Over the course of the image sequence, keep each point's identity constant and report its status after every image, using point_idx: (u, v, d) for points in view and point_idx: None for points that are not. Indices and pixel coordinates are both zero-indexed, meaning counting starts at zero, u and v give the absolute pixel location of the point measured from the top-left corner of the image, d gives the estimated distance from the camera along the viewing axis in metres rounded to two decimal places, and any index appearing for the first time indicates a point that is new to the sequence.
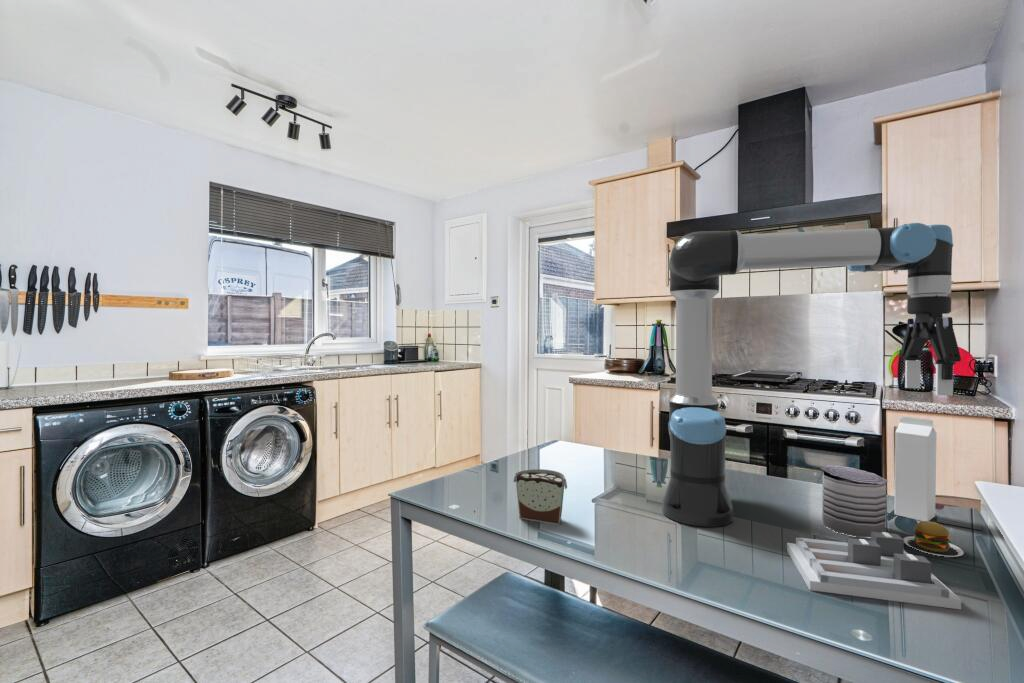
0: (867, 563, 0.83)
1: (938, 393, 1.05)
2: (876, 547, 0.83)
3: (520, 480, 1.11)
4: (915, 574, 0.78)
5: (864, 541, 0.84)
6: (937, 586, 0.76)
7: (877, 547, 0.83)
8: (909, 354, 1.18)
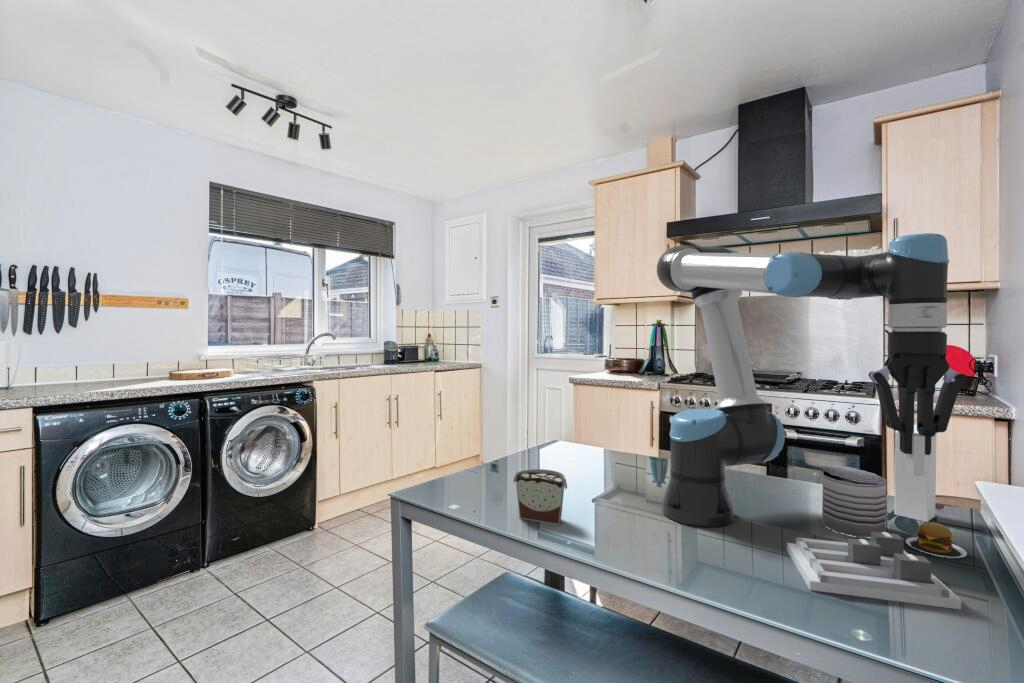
0: (867, 563, 0.83)
1: (906, 469, 0.83)
2: (876, 547, 0.83)
3: (520, 480, 1.11)
4: (915, 574, 0.78)
5: (864, 541, 0.84)
6: (937, 586, 0.76)
7: (877, 547, 0.83)
8: (917, 420, 0.83)
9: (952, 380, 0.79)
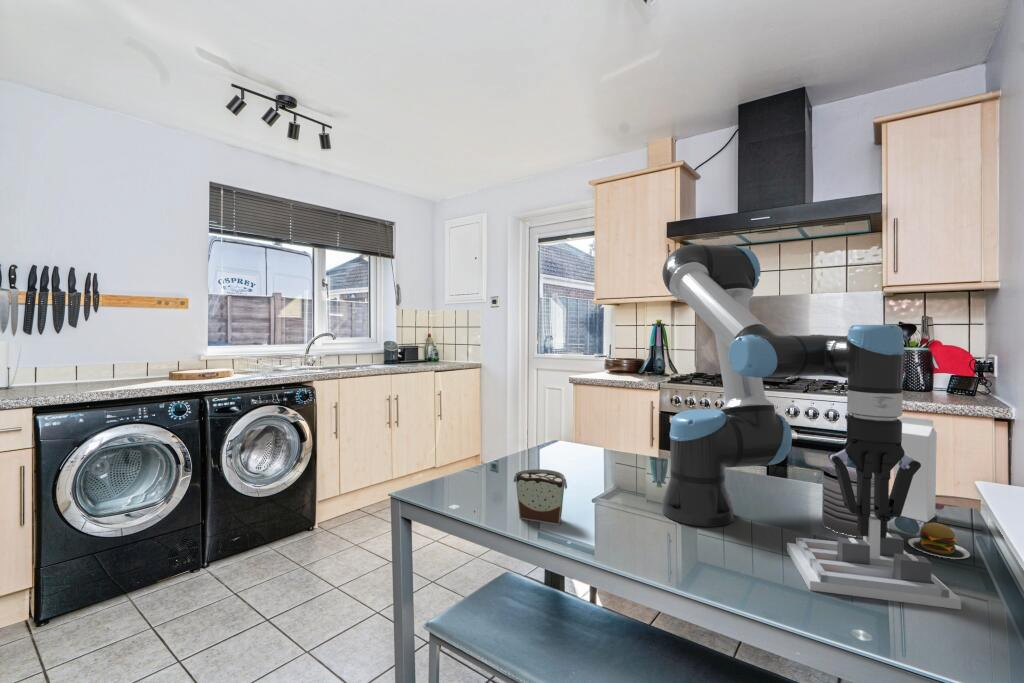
0: (856, 562, 0.84)
1: None
2: (865, 546, 0.83)
3: (520, 480, 1.11)
4: (915, 574, 0.78)
5: (853, 540, 0.85)
6: (937, 586, 0.76)
7: (866, 546, 0.83)
8: (874, 502, 0.85)
9: (907, 467, 0.82)
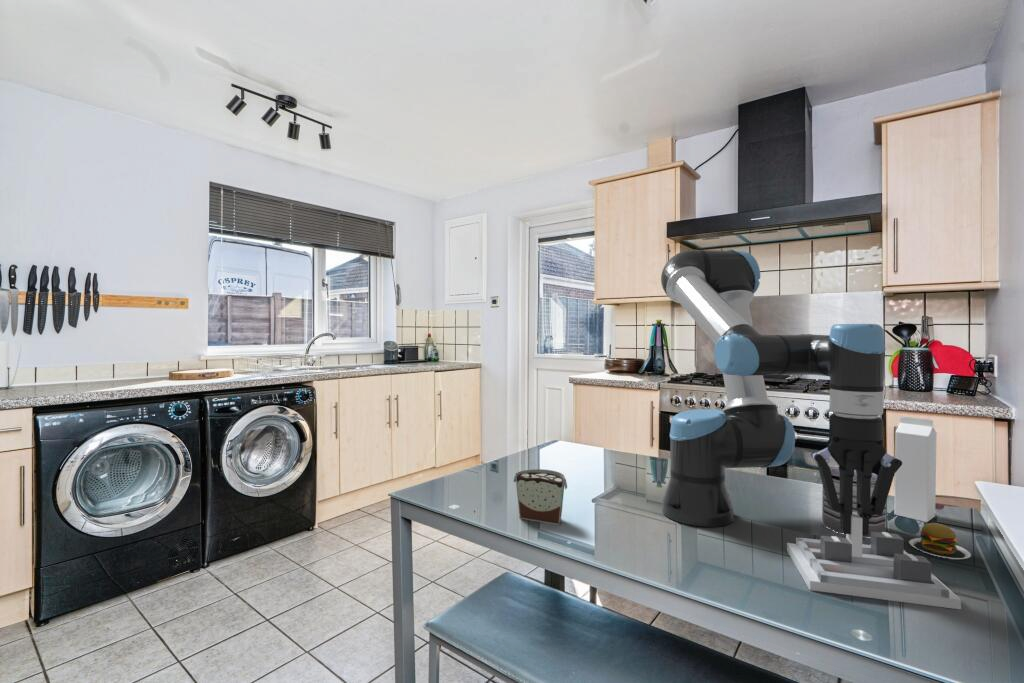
0: (838, 560, 0.84)
1: None
2: (847, 544, 0.84)
3: (520, 480, 1.11)
4: (915, 574, 0.78)
5: (836, 538, 0.86)
6: (937, 586, 0.76)
7: (848, 544, 0.84)
8: (857, 500, 0.85)
9: (888, 465, 0.82)
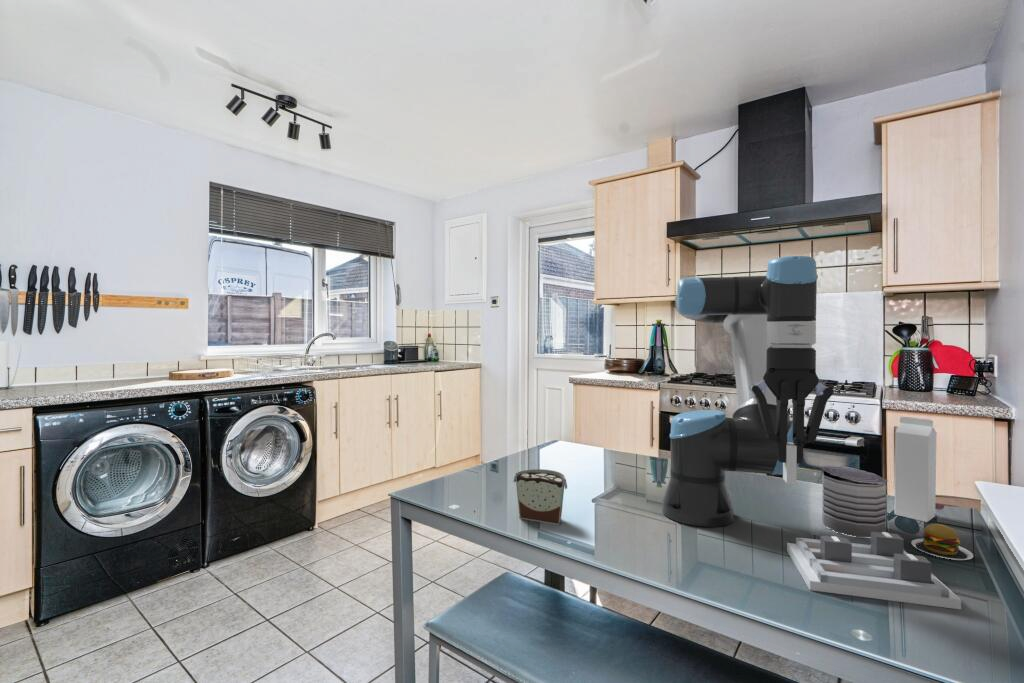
0: (838, 560, 0.84)
1: (783, 476, 0.89)
2: (847, 544, 0.84)
3: (520, 480, 1.11)
4: (915, 574, 0.78)
5: (836, 538, 0.86)
6: (937, 586, 0.76)
7: (848, 544, 0.84)
8: (793, 430, 0.88)
9: (821, 393, 0.85)
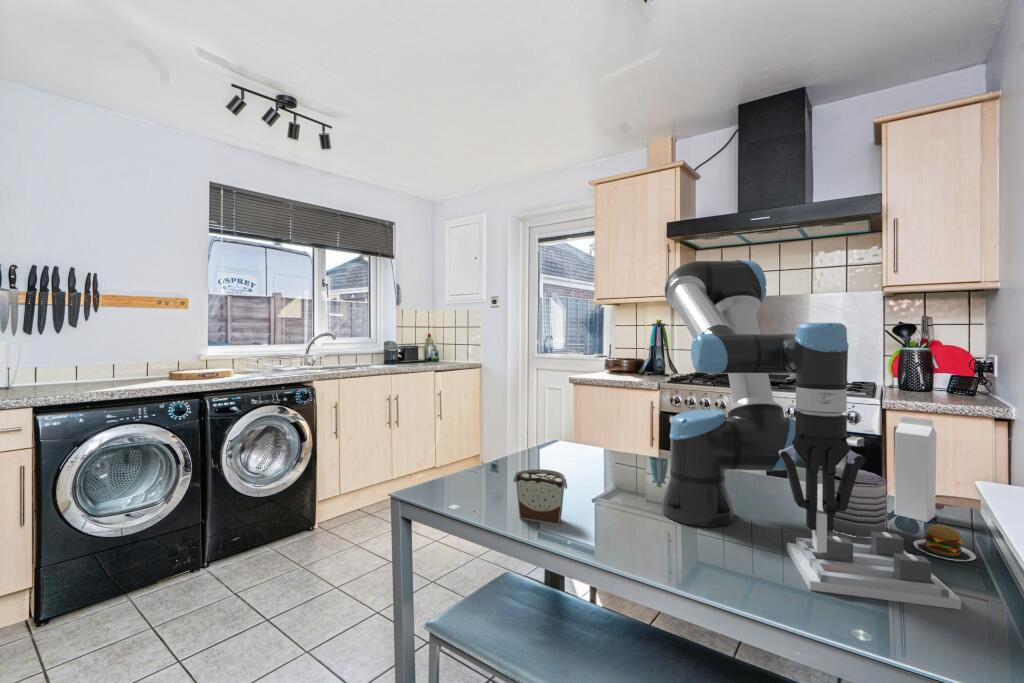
0: (840, 560, 0.84)
1: (812, 543, 0.87)
2: (848, 544, 0.84)
3: (520, 480, 1.11)
4: (915, 574, 0.78)
5: (837, 538, 0.86)
6: (937, 586, 0.76)
7: (849, 544, 0.84)
8: (822, 497, 0.87)
9: (852, 462, 0.83)
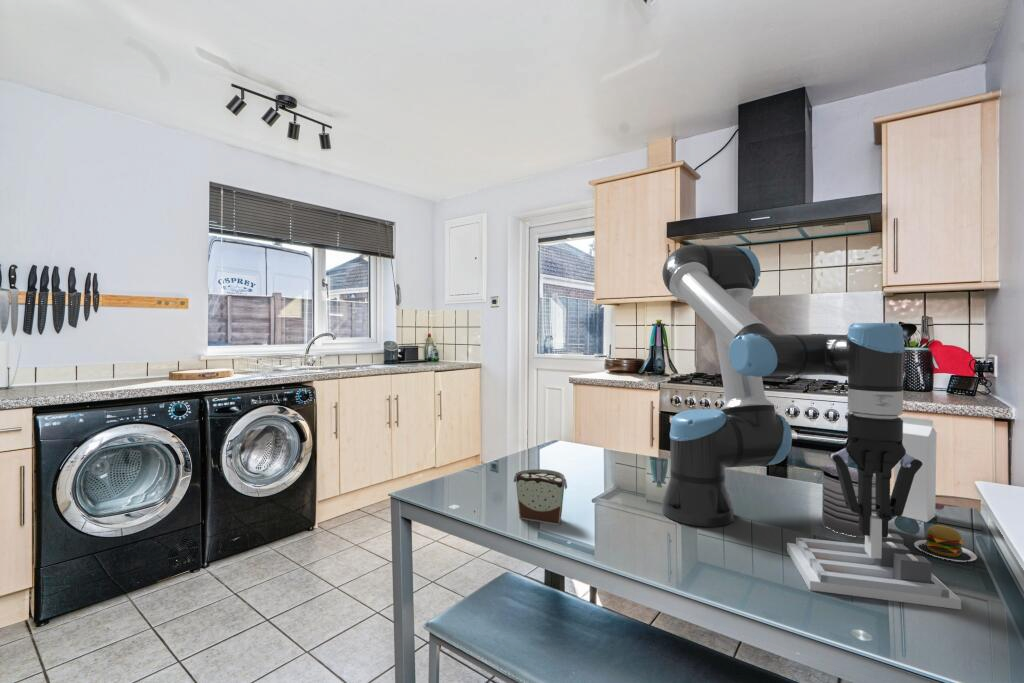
0: None
1: (865, 549, 0.85)
2: (904, 550, 0.82)
3: (520, 480, 1.11)
4: (915, 574, 0.78)
5: (892, 544, 0.83)
6: (937, 586, 0.76)
7: (905, 550, 0.82)
8: (876, 501, 0.84)
9: (908, 466, 0.81)
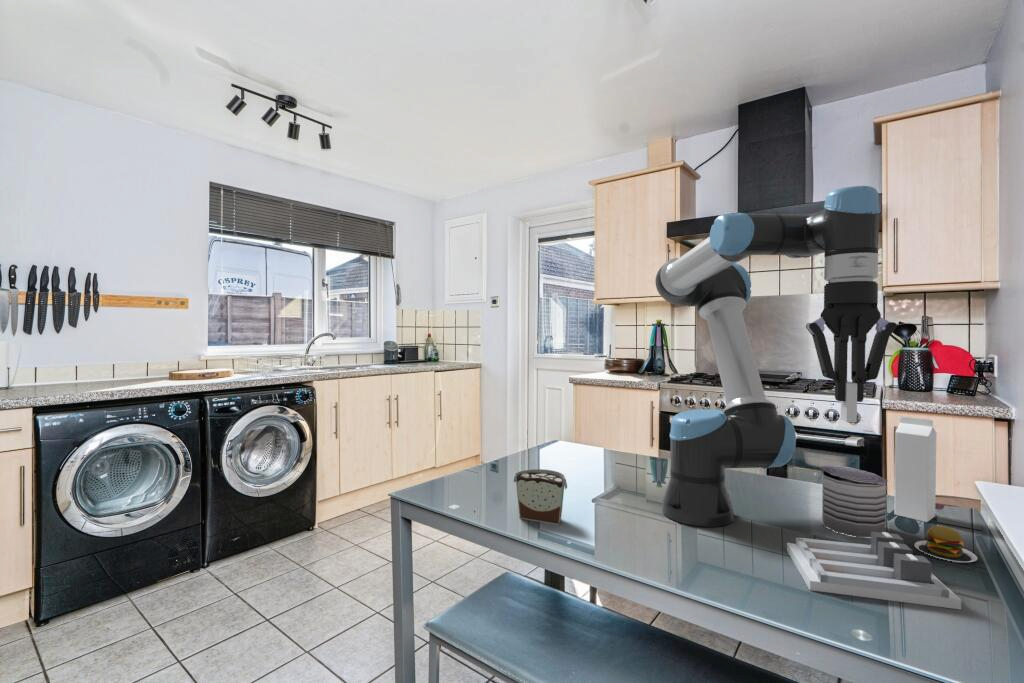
0: None
1: (841, 417, 0.86)
2: (907, 550, 0.82)
3: (520, 480, 1.11)
4: (915, 574, 0.78)
5: (895, 544, 0.83)
6: (937, 586, 0.76)
7: (908, 550, 0.82)
8: (852, 369, 0.85)
9: (883, 328, 0.82)
